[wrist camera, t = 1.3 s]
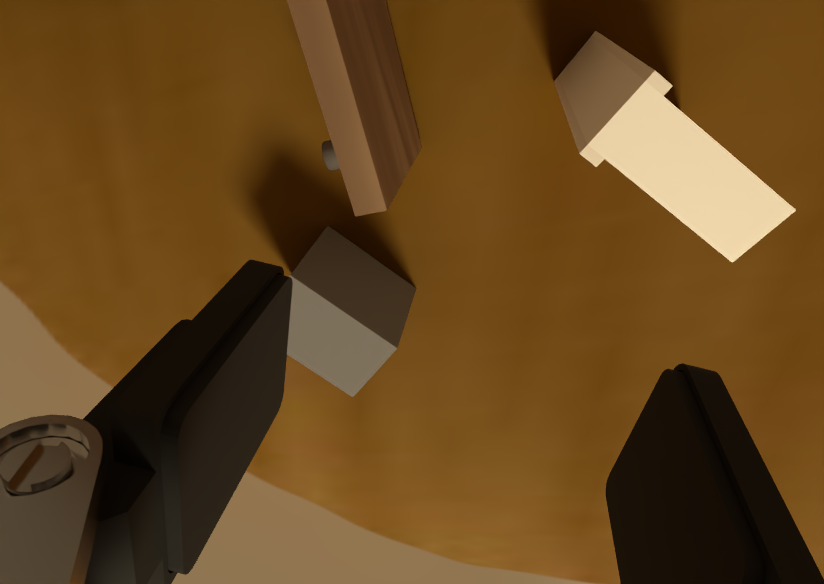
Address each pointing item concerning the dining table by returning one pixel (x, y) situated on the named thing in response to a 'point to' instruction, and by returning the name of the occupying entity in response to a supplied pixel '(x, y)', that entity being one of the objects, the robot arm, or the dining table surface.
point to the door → (359, 96)
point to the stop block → (345, 312)
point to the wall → (663, 148)
